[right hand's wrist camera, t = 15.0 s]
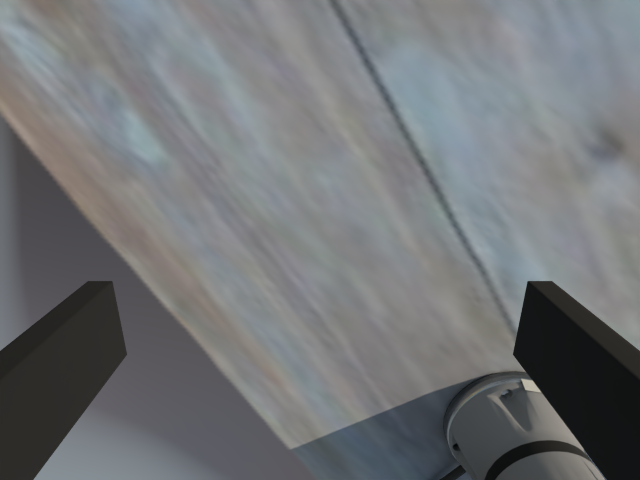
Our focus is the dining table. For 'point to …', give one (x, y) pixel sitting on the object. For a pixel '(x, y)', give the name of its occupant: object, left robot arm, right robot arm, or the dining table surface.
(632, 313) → the dining table surface
